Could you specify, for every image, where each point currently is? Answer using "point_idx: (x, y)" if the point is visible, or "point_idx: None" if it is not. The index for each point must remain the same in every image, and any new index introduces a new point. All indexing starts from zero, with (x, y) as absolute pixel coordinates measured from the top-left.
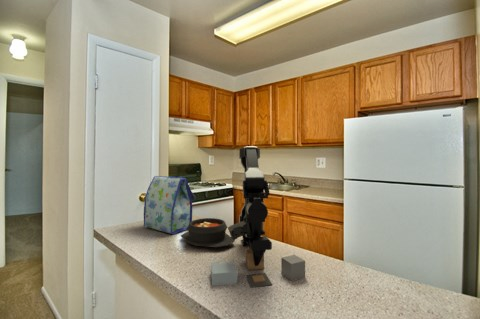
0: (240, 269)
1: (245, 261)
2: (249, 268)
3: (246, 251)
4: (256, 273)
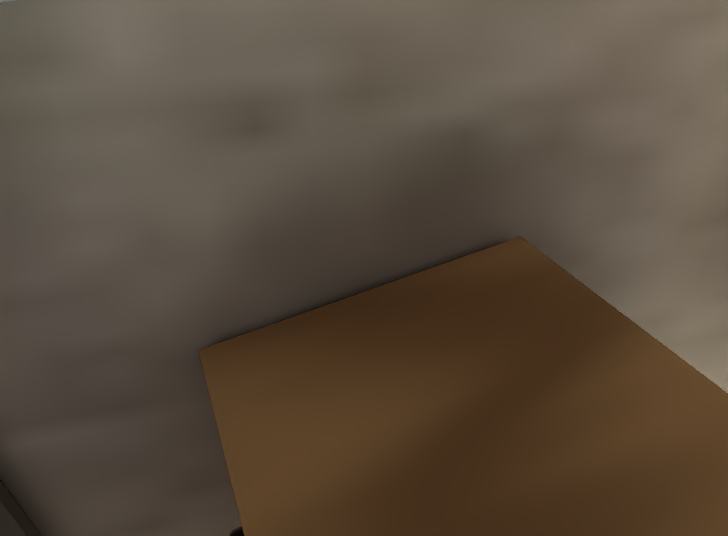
0: (236, 156)
1: (539, 256)
2: (209, 385)
3: (644, 526)
4: (21, 530)
